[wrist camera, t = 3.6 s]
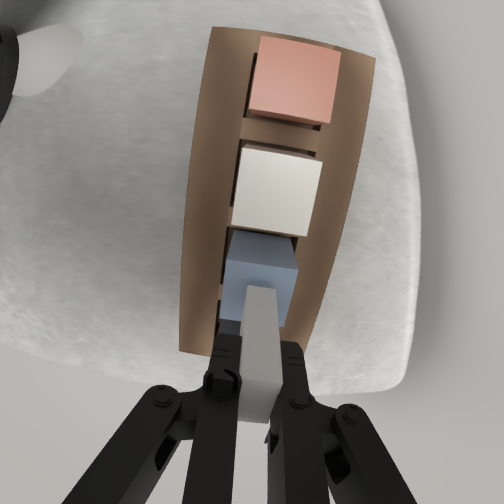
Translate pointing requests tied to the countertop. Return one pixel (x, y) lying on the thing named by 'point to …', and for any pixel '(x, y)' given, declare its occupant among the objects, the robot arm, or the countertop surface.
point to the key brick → (294, 81)
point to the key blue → (258, 272)
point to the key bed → (226, 175)
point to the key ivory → (275, 190)
